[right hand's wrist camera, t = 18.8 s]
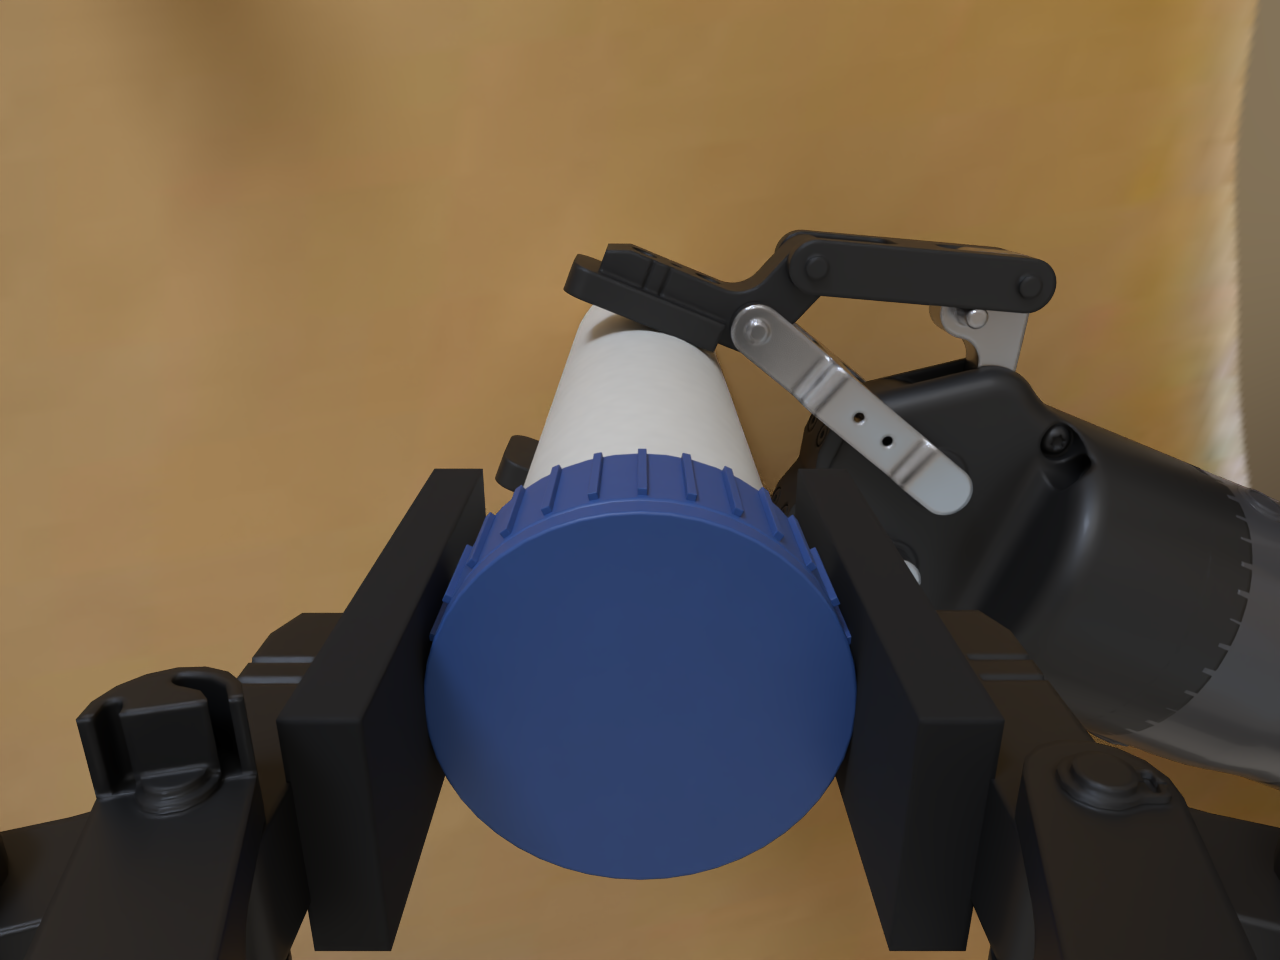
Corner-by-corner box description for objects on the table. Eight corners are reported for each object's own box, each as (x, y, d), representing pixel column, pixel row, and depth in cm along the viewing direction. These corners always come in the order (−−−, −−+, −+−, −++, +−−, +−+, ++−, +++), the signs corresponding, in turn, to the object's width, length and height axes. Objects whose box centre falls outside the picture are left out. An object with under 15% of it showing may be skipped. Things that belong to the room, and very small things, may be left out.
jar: (562, 403, 29) (451, 771, 12) (588, 270, 27) (502, 473, 10) (693, 430, 29) (764, 826, 12) (725, 300, 27) (857, 544, 11)
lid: (788, 400, 11) (818, 452, 9) (861, 738, 13) (899, 838, 11) (395, 501, 11) (348, 569, 10) (518, 812, 13) (498, 921, 11)
